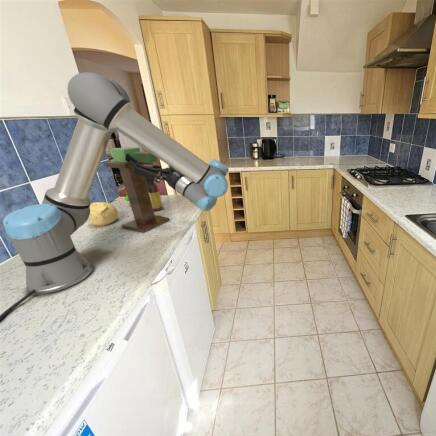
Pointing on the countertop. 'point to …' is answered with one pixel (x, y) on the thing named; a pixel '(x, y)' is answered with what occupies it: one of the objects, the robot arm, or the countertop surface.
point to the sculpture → (102, 213)
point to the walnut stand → (138, 198)
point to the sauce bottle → (154, 194)
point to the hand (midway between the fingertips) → (142, 154)
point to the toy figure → (120, 155)
